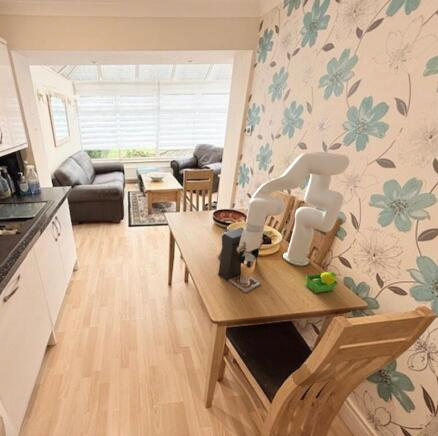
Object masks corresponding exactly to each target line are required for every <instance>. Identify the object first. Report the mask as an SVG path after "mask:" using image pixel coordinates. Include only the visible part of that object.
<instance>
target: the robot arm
mask: <svg viewBox="0 0 438 436" xmlns="http://www.w3.org/2000/svg"><path fill="white" fill-rule="evenodd" d="M349 163H350V158H349V157H348V156H347V155H345V154H340V153H331V152H327V151H325V152H324V151H310V152H305V153H304V152H303V153H302V154H300V155H299V156H298V157H297V158H296V159H295V160H294V161H293V162H292V163H291V165H290V166H289V167H288V168H287V169H286V171H284V173H283V174H282V175H281V176H278V177H274V178H273V179H271V180H268V181H266V182H265V183H263V184H262V185H261V186H260V187H259V188H258V189H257V190H256V191H255V193H254V194H253V195H252V197H251V199H250V201H249V204H248V209H247V215H246V220H245V225H244V228H243V229H244V230H243V233H242V236H241V239H240V243H239V247H238V248H237V252H238V254H239V255H238V261H239V262H240V263H242V264H244V261H245V254H246V253H247V252H249V251H252V253H251V254H252V255H254V256H255V257H256V258H257V259H258V257H259V253H260V250H261V247H262V246H263V243H264V240H265V239H263V235H264V229H265V223H266V220H267V217H274V216H275V217H276V216H279V215H281V214H283V213H284V212H285V210H286V202H284V200H282V199H281V198H279V197H274V196H272V195H271V194H273V193H276V192H280V191H289V190H295V189H298V188H299V187H300V186H301V185H302V184H303V183H304V182H305V181H306V179H307V178H308V177H309V180H308V185H307V188H306V191H305V194H304V199H303V200H304V203H305V204H306V205H309V206H301V207H299V208H298V209H296V211H295V214H294V227H293V230H292V234H291V238H290V241H289V244H288V248H287V252H284V253H283V255H282V257H283V259H284V260H285V261H286V262H287V263H289V264H291V265H294V266H302V267H304V266H308V265H309V263H310V260H309V258H308V256H309V255H308V254H310V253H311V252H310V249H311V245H312V242H313V239H314V236H315V231H314V230H317V231H320V232H323V233H328V232H331V231H332V230H333V229H334V227H335V225H336V222H337V220H338V217H339V215H340V212H341V210H342V207H343V203H344V195H343V194H342V193H341V192H339V191H336V190H331V189H329V187H330V184H331V181H332V176H337V175H341V174H343V173H344V172H345V171H346V170H347V169H348V167H349ZM314 207H315V208H314ZM320 209H322V210H320ZM243 248H245V249H246V250H245V249H243ZM243 250H244V253H242V251H243Z"/></svg>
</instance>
